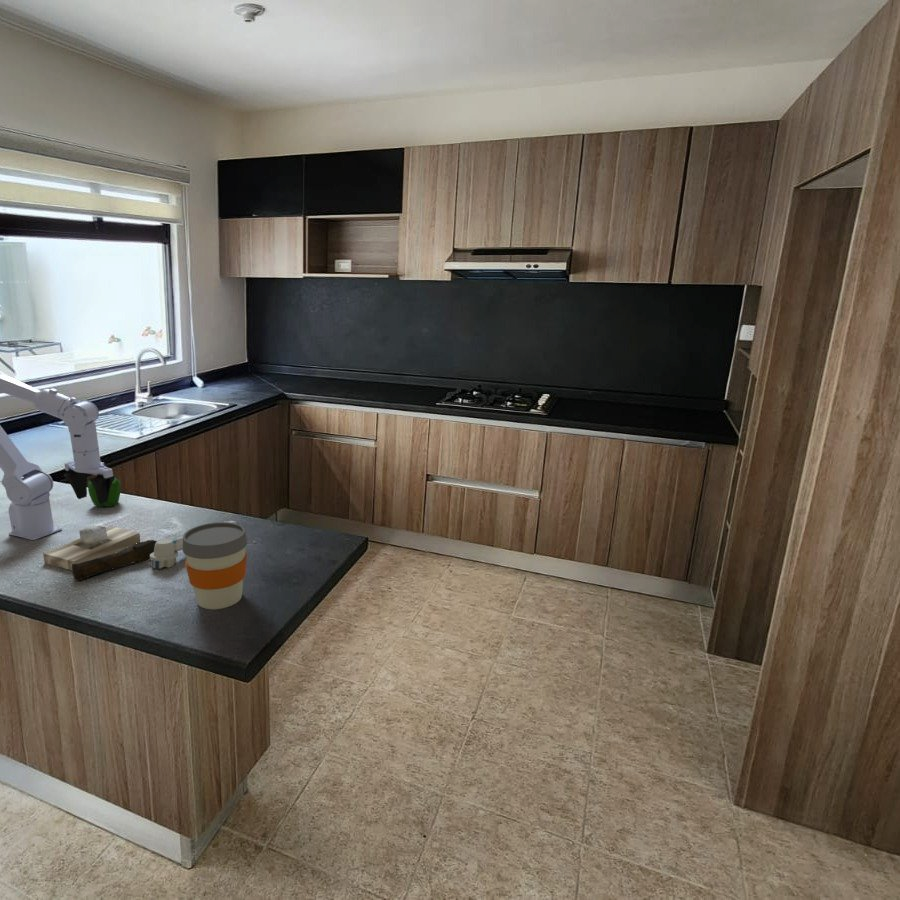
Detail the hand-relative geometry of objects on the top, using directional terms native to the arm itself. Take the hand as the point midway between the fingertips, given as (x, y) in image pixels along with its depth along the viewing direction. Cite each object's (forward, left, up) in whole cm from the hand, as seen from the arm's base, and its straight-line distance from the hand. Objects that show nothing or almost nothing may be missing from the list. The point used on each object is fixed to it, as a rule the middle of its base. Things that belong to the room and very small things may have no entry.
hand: (92, 500), depth 154 cm
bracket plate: (+9, -8, -9) cm, 15 cm away
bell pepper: (-16, +16, -10) cm, 25 cm away
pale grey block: (+9, -8, -10) cm, 15 cm away
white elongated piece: (+30, +4, -10) cm, 32 cm away
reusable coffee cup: (+52, -13, -10) cm, 54 cm away
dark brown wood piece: (+21, -11, -10) cm, 25 cm away
